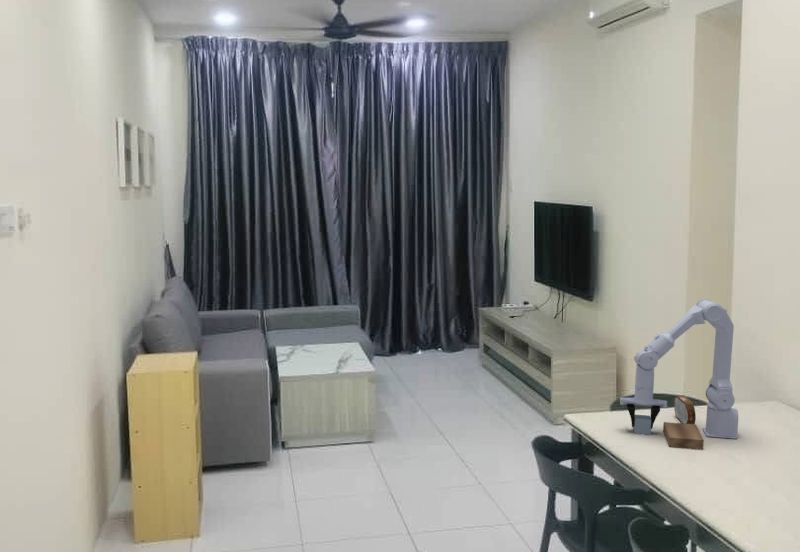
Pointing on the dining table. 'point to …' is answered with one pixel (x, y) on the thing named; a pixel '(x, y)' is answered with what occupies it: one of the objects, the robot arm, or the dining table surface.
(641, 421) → the block
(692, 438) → the plinth
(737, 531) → the dining table surface
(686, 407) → the tin
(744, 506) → the dining table surface
